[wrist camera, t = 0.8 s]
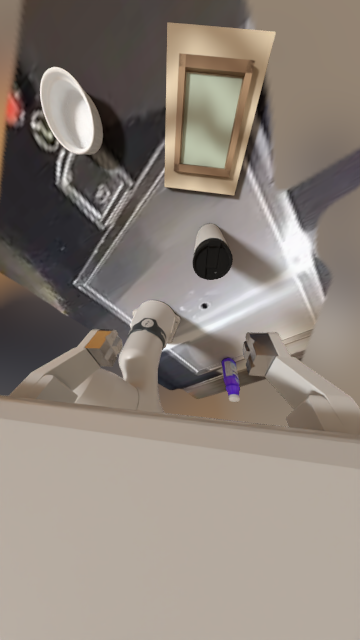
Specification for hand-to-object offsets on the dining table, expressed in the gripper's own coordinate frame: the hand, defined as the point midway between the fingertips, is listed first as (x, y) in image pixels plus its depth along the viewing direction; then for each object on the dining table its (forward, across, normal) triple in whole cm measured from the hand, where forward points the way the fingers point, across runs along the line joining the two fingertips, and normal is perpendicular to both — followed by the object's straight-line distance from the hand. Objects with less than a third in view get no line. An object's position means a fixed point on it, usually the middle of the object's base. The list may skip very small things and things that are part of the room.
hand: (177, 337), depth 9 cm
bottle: (+37, -14, +56) cm, 68 cm away
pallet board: (+37, -2, -16) cm, 40 cm away
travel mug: (+37, -3, +2) cm, 37 cm away
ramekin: (+37, +22, -20) cm, 47 cm away
